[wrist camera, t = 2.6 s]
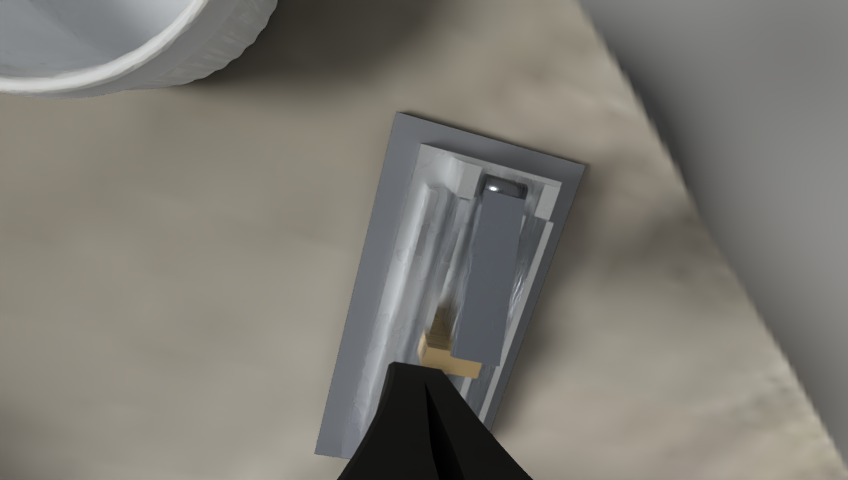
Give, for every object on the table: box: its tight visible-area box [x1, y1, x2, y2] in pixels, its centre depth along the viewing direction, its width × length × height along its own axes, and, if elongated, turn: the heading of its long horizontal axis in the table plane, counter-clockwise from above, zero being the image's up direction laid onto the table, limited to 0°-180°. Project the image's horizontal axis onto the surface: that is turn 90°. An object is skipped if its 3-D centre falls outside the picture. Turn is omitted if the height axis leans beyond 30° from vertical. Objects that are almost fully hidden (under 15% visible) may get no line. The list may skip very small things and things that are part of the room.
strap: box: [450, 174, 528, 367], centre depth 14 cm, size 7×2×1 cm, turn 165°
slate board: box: [314, 112, 585, 459], centre depth 20 cm, size 18×9×1 cm, turn 165°
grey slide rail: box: [341, 143, 562, 459], centre depth 18 cm, size 16×6×4 cm, turn 165°
